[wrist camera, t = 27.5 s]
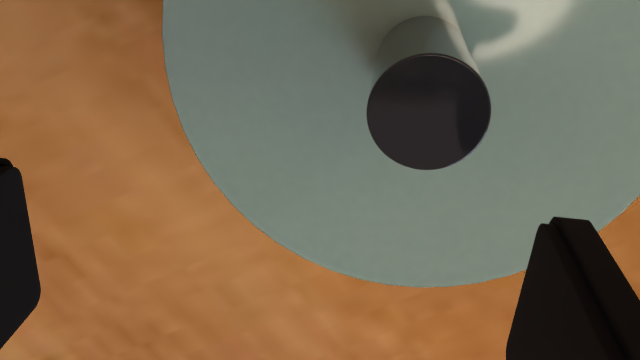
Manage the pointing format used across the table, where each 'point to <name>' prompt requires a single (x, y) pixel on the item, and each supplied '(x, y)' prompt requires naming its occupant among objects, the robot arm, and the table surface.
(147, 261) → the table surface
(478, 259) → the lid
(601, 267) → the robot arm
